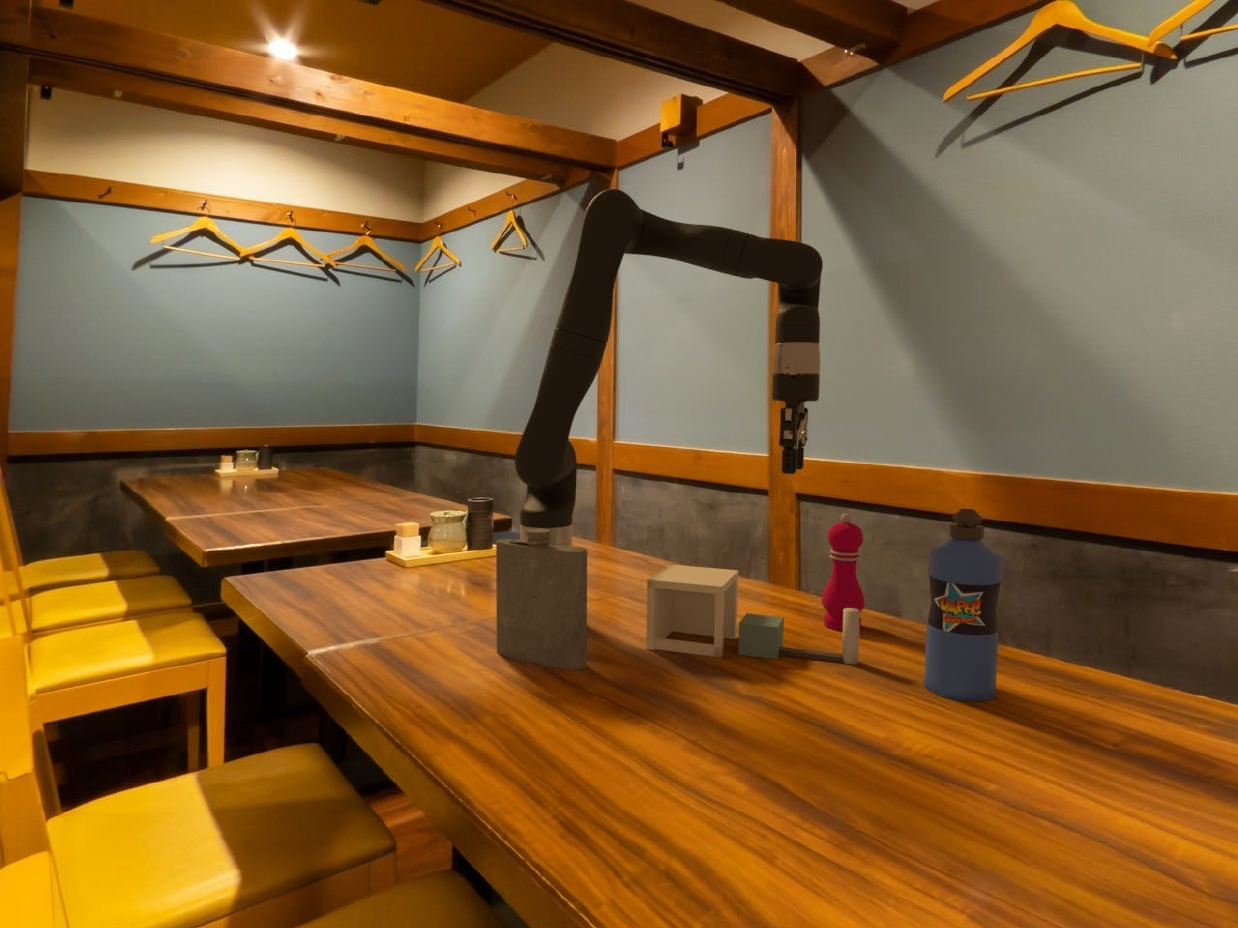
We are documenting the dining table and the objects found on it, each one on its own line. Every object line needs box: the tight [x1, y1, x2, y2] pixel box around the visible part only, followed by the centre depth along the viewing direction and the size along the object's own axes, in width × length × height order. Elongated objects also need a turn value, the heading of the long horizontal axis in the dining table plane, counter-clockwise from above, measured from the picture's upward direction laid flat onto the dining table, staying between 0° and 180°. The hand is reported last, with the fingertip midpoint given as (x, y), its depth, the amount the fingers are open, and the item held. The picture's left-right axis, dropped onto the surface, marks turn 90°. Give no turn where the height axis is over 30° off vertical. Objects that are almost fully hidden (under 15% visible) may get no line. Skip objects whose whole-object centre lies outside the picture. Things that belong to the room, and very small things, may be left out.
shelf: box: [645, 564, 739, 658], centre depth 125 cm, size 12×12×11 cm
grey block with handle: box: [737, 608, 861, 665], centre depth 119 cm, size 18×6×8 cm, turn 70°
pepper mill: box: [821, 513, 865, 632], centre depth 134 cm, size 7×7×20 cm
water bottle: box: [923, 508, 1005, 703], centre depth 105 cm, size 9×9×25 cm
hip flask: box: [495, 528, 588, 671], centre depth 115 cm, size 16×4×20 cm, turn 61°
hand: (792, 471), depth 126 cm, fingers open, 8 cm apart
